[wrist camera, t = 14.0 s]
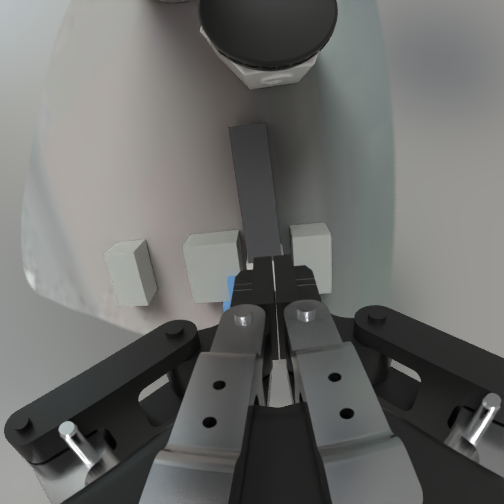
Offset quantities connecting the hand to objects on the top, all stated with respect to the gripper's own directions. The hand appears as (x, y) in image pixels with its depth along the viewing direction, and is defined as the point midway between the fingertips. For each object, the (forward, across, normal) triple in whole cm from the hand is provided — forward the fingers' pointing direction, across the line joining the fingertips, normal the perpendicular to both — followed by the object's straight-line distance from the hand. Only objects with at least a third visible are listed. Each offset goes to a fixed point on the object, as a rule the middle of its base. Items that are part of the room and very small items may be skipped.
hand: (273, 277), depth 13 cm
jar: (+19, -1, -13) cm, 23 cm away
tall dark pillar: (+19, +1, +2) cm, 19 cm away
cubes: (+19, +6, +7) cm, 21 cm away
